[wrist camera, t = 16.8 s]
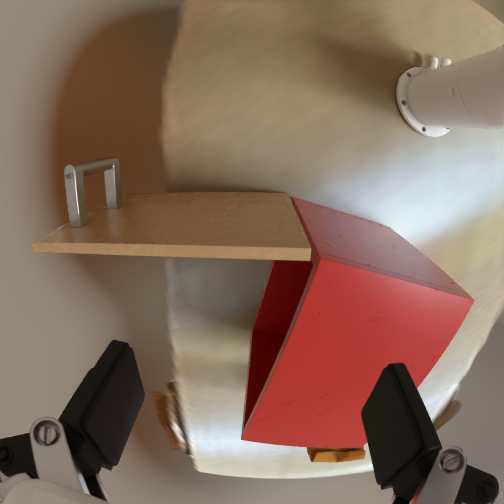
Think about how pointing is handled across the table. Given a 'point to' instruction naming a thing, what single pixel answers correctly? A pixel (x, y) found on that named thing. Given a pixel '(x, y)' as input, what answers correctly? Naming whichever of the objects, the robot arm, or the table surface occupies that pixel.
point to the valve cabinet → (342, 329)
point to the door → (176, 222)
